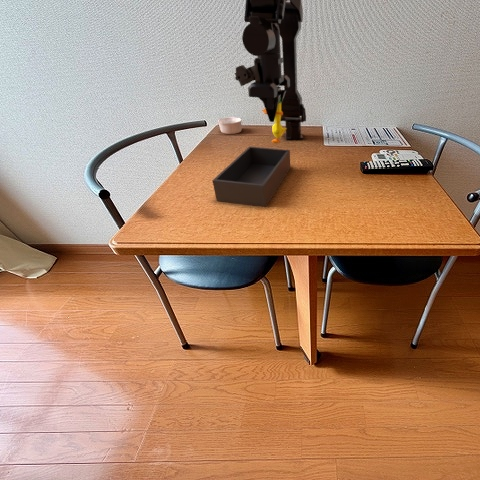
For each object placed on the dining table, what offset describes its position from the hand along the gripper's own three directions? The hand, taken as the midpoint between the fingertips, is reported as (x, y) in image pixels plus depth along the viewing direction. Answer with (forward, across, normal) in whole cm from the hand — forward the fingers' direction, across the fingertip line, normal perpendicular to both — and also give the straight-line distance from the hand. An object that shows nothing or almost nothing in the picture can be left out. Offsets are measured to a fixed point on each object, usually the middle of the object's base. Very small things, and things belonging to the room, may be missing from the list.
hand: (273, 120), depth 79 cm
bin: (+14, +12, -2) cm, 18 cm away
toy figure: (+6, 0, 0) cm, 6 cm away
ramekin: (+13, -30, -26) cm, 42 cm away
